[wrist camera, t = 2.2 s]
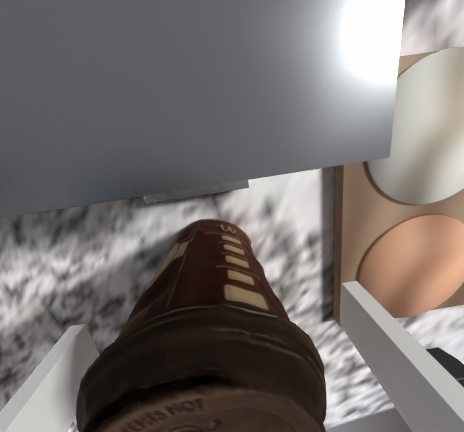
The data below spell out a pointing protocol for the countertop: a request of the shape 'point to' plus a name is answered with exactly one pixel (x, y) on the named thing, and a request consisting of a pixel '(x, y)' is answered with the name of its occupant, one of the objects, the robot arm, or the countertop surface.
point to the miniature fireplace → (187, 95)
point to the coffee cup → (206, 350)
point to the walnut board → (409, 197)
